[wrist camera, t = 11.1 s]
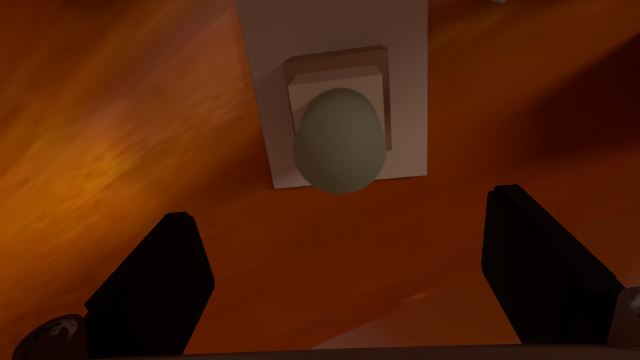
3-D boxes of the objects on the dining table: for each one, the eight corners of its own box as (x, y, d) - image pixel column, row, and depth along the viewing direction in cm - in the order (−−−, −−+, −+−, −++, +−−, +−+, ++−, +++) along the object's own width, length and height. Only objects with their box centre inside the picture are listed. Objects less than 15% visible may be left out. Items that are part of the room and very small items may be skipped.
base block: (291, 56, 30) (282, 62, 26) (381, 44, 29) (388, 48, 25) (304, 140, 34) (298, 159, 29) (385, 132, 33) (392, 150, 28)
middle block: (297, 74, 26) (287, 85, 22) (374, 64, 25) (382, 74, 21) (308, 147, 29) (301, 171, 24) (379, 140, 28) (386, 163, 23)
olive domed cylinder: (297, 92, 22) (285, 111, 17) (375, 83, 21) (384, 100, 17) (308, 163, 24) (300, 197, 19) (379, 156, 23) (388, 189, 19)
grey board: (239, 1, 30) (235, 0, 29) (424, -27, 28) (428, -29, 27) (276, 183, 37) (274, 188, 36) (424, 170, 35) (426, 175, 34)
